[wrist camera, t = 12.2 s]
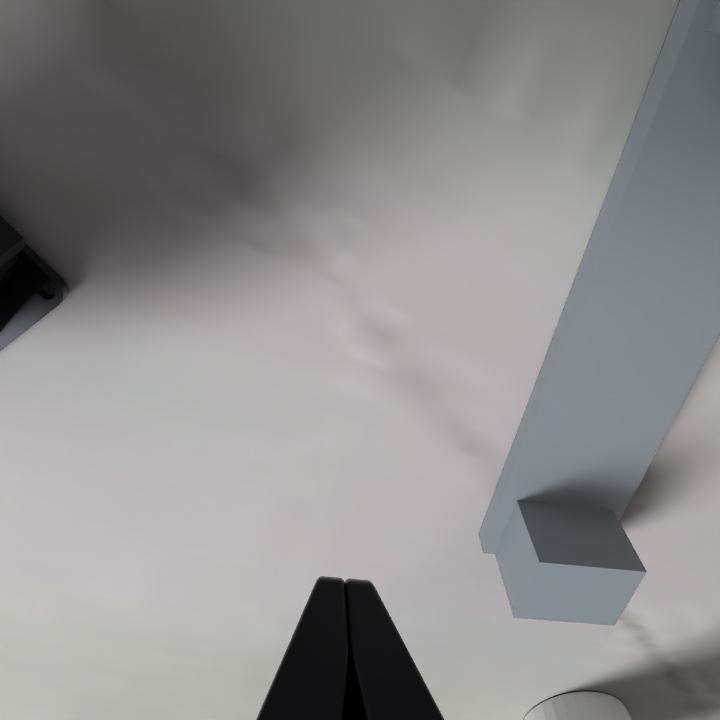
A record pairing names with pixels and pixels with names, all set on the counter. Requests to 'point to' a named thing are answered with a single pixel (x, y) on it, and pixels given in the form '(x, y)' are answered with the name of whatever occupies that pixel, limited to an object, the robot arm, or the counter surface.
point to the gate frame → (620, 349)
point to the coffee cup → (580, 708)
